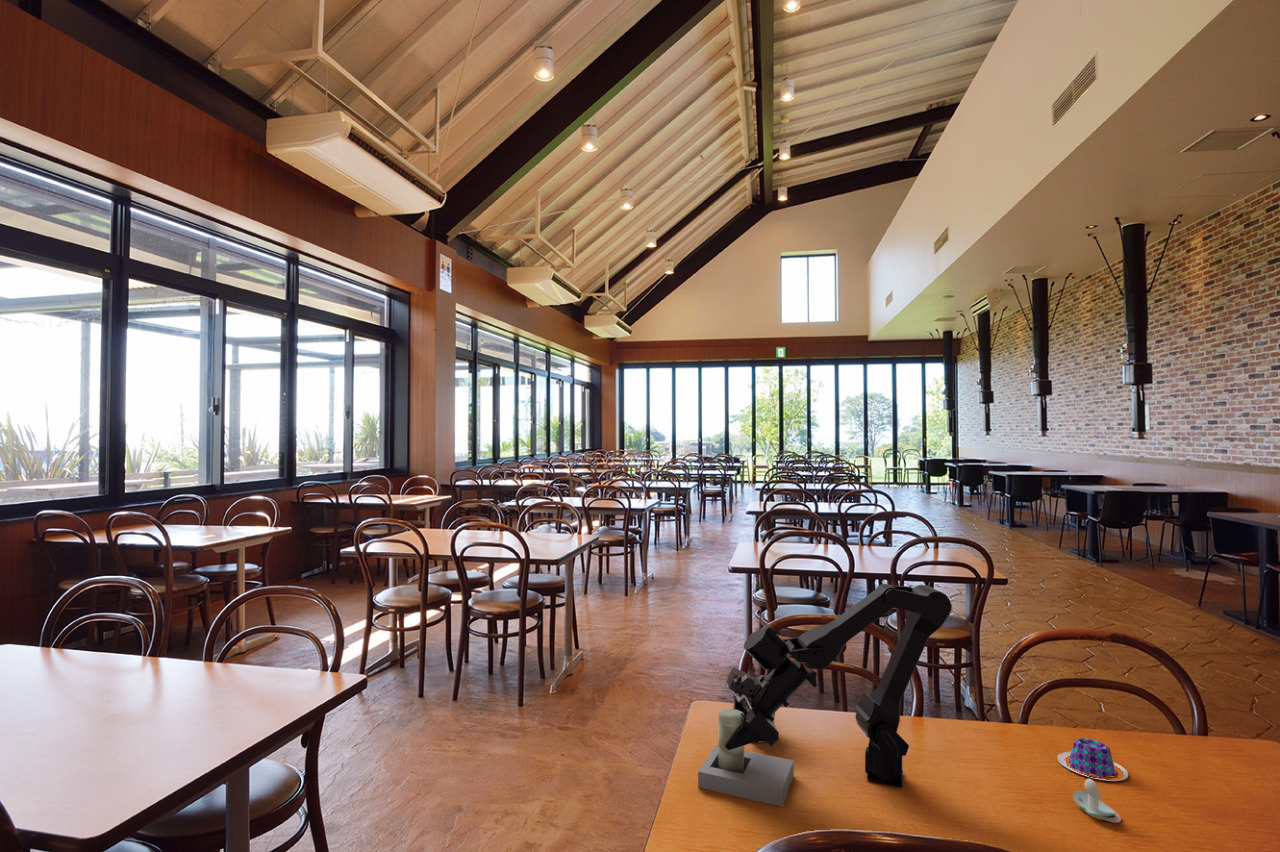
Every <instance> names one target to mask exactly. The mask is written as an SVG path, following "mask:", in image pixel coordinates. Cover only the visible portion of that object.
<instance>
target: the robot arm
mask: <svg viewBox="0 0 1280 852" xmlns="http://www.w3.org/2000/svg"><path fill="white" fill-rule="evenodd" d="M952 608H953V604H952V603H951V599H950V598H949V597H948V595H947V594H945V593H944V592H942V591H940V590H938V589H935V588H934V587H932V586H929V585H926V584H919V585H917V586H913V587H911V586H907V585H906V586H904V585H891V584H888V583H882V584H879V585H877V587H875V589H874V590H873V591H872V592H870V593H869V594H868V595H866V596H865V597H863V598H862V599H861V600H860V601H858V602H856V604H854V605H853V606H851V607H850V608H849V609H847V610H845V611H844V612H843V613H842V614H840V615H839V616H837V617H836V618H835V619H833V620H832V621H830V622H828V623H826V624H822V625H818V626H815V627H813V628H811V629H809V630H807V631H805V632H803V633H801V634H800V635H799V636H797V637H791V638H790V637H789V638H781V637H780V636H779V635H778V634H777V633H776V631H775V629H773V627H771V625H770V624H768V623H767V624H766V625H765V626H764V627H761V628H758V629H756V630H755V631H753V632H752V633H750V635H749V636H748V637H747V638H746V639H745V642H744V644H743V649H744V650H745V651H746V652H747V653H748V654H749V655H750V656H751V657H752V658H753V659H754V660H755V662H756V663H758V664H759V666H761V668H763V670H769V669H770V670H771V671H770V672H769V673H768V674H767V676H766V675H765V674H764V673H763V674H761V675H758V677H754V676H752V675H751V674H749V673H747V672H745V671H743V670H741V669H738V668H736V667H732V669H730V672H729V675H728V677H727V679H726V684H727V687H728V689H729V690H731V691H732V692H733V693H734V694H738V695H737V696H736V695H734V694H733V695H732V700H733V704H732V705H733V707H732V709H735V710H739V711H741V712H743V713H744V715H743V714H742V713H741V724H740V725H739V727H738V728H737V729H736V731H735V732H734V733H733V735H732V736H731V737H730V738H729V740H728V741H727V743H726V744H725V747H726V748H727V750H731V749H734V748H738V747H741V746H744V747H745V746H747V745H750V744H754V743H760V742H759V741H763V742H766V744H768V746H769V747H771V748H773V747H774V746H775V744H776V743H778V741H779V740H780V733H779V731H778V729H777V727H776V725H775V723H774V724H773V723H772V721H773V720H774V721H775V718H774V717H773V714H774V713H775V714H776V712H778V710H779V709H780V708H781V707H782V706H784V707H785V708H787V707H788V706H789V705H790V702H789V701H788V700H789V699H790V697H792V696H793V695H794V694H795V693H796V692H797V691H798V690H799V689H800V688H801V687H802V686H803V685H804V684H805V682H808V683H809V684H810V685H811V686H812V687H813V688H817V686H818V683H817V675H818V673H817V672H816V671H815V670H819V671H822V670H824V669H826V668H828V667H829V666H830V665H831V663H833V661H834V660H836V658H837V657H838V656H840V654H841V652H842V650H843V648H844V646H845V645H846V644H847V643H848V642H849V641H850V640H851V639H853V638H854V637H855V636H857V635H859V634H860V633H861V632H863V630H865V629H867V628H868V627H869V626H871V625H872V624H873V623H874V622H876V621H877V620H878V619H879V620H880V618H882V617H883V616H884V615H886V614H887V613H889V611H891V610H892V609H901V610H904V611H905V624H904V627H903V629H902V631H901V634H900V635H899V637H898V640H897V643H896V644H895V647H894V649H893V652H892V654H891V656H890V658H889V660H888V662H887V665H886V667H885V669H884V671H883V674H882V676H881V679H880V680H879V683H878V685H877V687H876V689H874V690H873V691H871V693H867V692H866V691H862V693H861V695H860V698H859V702H858V704H856V706H855V707H854V710H855V712H856V713H855V721H856V724H857V726H858V727H859V728H860V729H861V731H862V732H863V733H864V734H865V736H866V737H867V738H868V746H866V748H865V751H864V756H865V757H864V773H865V774H866V775H867V776H866V780H867V781H868V782H871V783H872V782H873V783H877V784H882V785H887V786H891V787H897V788H903V786H904V784H903V783H904V770H903V757H905V756H907V753H908V751H909V748H910V745H909V743H908V742H906V740H904V738H903V737H902V736H901V735H900V734H899V733H898V728H899V725H900V721H901V720H900V719H901V708H900V707H901V702H902V698H903V697H904V694H905V692H906V689H907V688H908V686H909V684H910V681H911V679H912V676H913V674H914V672H915V669H916V667H917V665H918V662H919V660H920V659H921V656H922V653H923V651H924V649H925V647H926V645H927V642H928V641H929V638H930V637H931V635H933V634H934V633H936V632H937V631H938V630H939V629H941V628H942V626H943V625H944V624H945V622H946V621H947V619H948V618H949V616H950V615H951V612H952ZM788 655H790V656H791V657H792V658H793V659H791V658H790V657H789V656H788ZM804 663H805V664H806V665H807V666H808V667H810V668H811V669H810V668H808V667H806V665H804ZM763 742H762V743H763Z"/></svg>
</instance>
